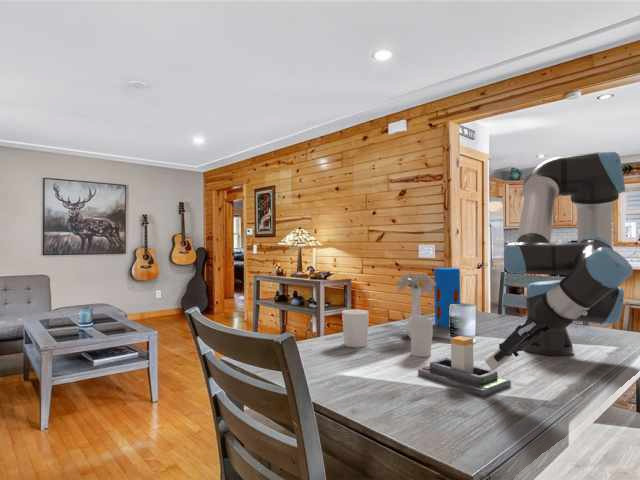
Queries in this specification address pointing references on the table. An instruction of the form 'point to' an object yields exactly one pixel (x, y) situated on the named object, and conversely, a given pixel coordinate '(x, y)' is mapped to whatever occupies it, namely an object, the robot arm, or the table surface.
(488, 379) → the dark gray tray
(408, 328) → the flower vase
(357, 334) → the candle holder
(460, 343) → the toggle
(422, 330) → the mug
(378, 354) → the table surface
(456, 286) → the leaf-print blue block
